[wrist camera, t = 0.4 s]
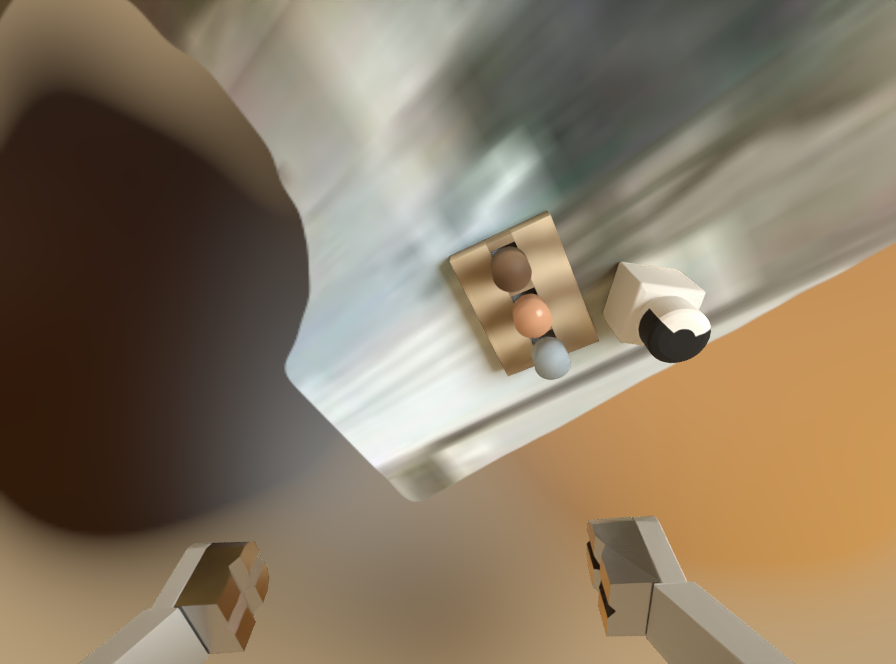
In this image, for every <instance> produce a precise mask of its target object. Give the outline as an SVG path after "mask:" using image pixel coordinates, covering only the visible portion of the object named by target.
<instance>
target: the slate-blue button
mask: <svg viewBox="0 0 896 664" xmlns="http://www.w3.org/2000/svg"><path fill="white" fill-rule="evenodd" d="M531 355H532V359H533V362H534V366H535V370H536V372H537V373H538V375H539V376H541V377H542V378H545V379H549V380H553V379H558V378H560V377H562V376H564V375H565V374H566V373H567V372H568V370H569V368H570V365H571V361H570V358H569V355H568V353H567V351H566V348H565V346H564V344H563V342H562V341H561V340H559V339H558V338H555V337H548V336H544V337H541V338H540V339H539V340H538V341H537V342H536V343H535V344H534V345H533V347H532V350H531Z"/></svg>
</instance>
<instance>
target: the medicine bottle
mask: <svg viewBox="0 0 896 664" xmlns="http://www.w3.org/2000/svg"><path fill="white" fill-rule="evenodd" d="M704 296H705V291H704V290H703V289H701V288H700V287H699V286H698V285H696V284H695V283H694V282H693V281H691V280H690V279H689V278H688V277H686V276H685V275H684V274H683V273H681V272H680V271H679V270H677V269H672V268H664V267H657V266H650V265H642V264H635V263H628V262H620V263H619V265H618V268H617V271H616V274H615V277H614V280H613V283H612V286H611V290H610V293H609V296H608V299H607V302H606V305H605V308H604V311H603V316H604V318H605V319H606V321H607V322H608V324H609V326H610V327H611V329H612V330H613V332H614V333H615V335H616V336H617V338H618V339H619V341H620V342H622V343H629V344H637V345H645V346H646V347H647V349H648V350H649V352H650V353H651V354H652V355H653V356H654V357H655V358H656V359H658V360H660V361H663V362H667V363H677V362H682V361H685V360H688V359H691V358H692V357H694V356H696V355H697V354H698V353H700V351H702V349H703V348H704V347H705V346H706V344H707V342H708V340H709V338H710V333H711V327H710V323H709V321H708V319H707V318H706V316H705V315H704V314H702V313H701V312H700V311H699V308H700V305H701V303H702V301H703V298H704Z"/></svg>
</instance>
